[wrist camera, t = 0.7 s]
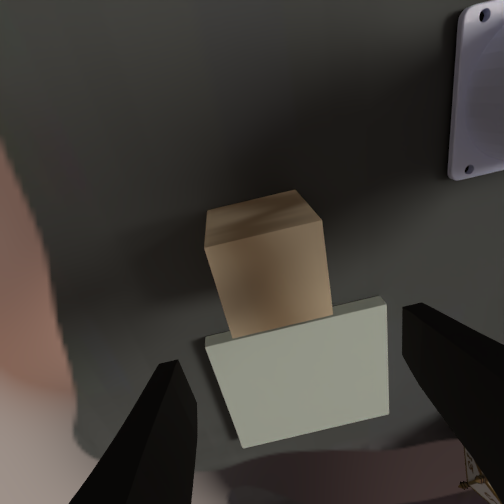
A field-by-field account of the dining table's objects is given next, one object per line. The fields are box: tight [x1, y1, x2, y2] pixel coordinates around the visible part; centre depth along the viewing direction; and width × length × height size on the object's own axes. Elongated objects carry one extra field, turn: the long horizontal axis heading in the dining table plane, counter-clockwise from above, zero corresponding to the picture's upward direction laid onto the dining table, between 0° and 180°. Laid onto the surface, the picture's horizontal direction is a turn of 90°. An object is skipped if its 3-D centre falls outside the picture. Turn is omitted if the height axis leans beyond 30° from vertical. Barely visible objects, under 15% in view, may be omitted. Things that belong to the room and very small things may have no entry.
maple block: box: [204, 190, 333, 338], centre depth 16 cm, size 5×5×5 cm
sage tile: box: [205, 296, 389, 448], centre depth 23 cm, size 12×11×1 cm
